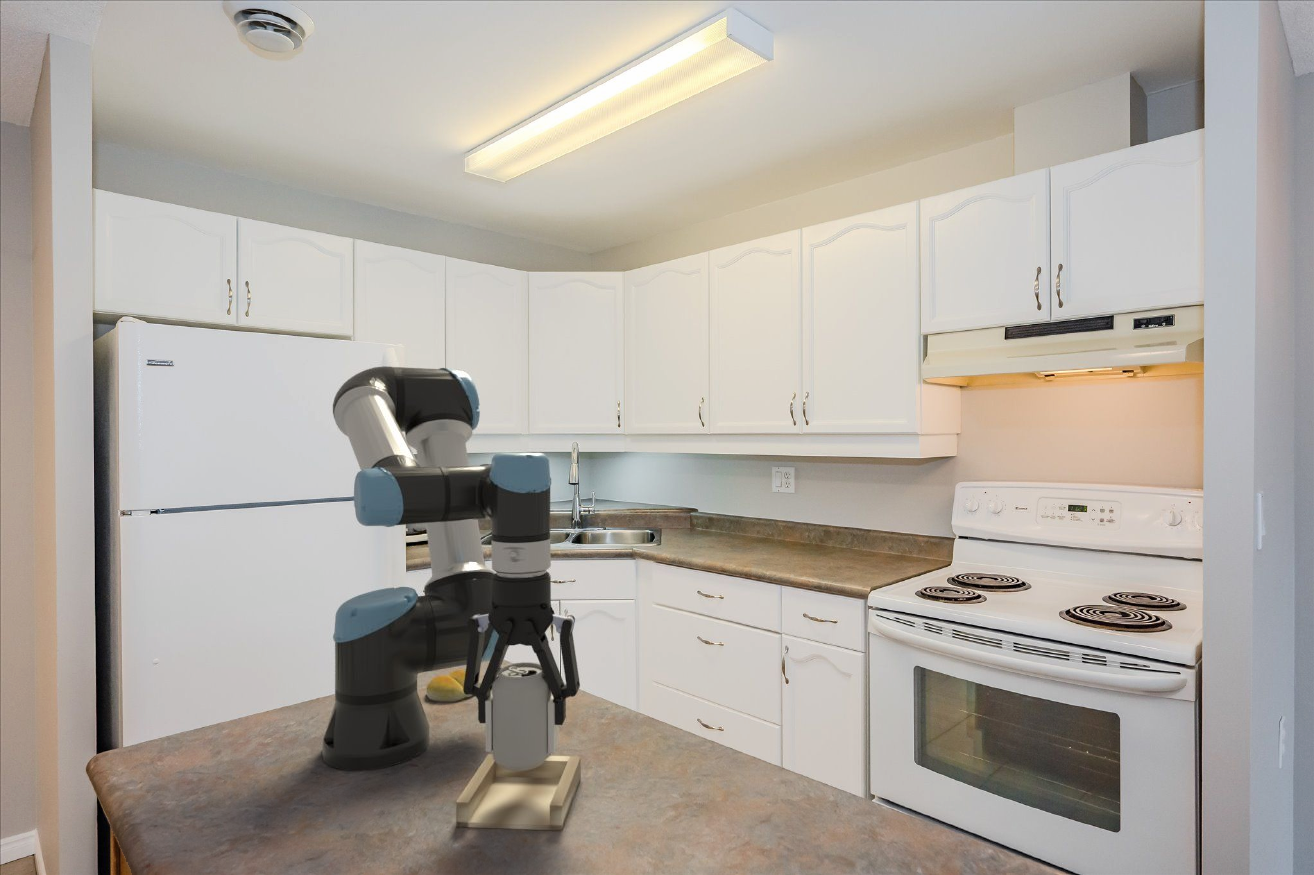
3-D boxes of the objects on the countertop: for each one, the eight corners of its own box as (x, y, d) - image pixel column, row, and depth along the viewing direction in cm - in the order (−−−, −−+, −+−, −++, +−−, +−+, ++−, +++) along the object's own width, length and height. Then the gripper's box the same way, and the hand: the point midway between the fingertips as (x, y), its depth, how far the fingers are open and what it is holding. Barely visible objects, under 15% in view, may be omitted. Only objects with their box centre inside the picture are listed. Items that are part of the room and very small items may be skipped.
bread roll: (419, 695, 131) (419, 673, 131) (464, 683, 137) (463, 662, 137) (440, 708, 125) (439, 685, 125) (485, 695, 131) (485, 673, 131)
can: (539, 776, 88) (538, 679, 88) (482, 771, 90) (482, 675, 90) (559, 750, 96) (558, 660, 96) (506, 745, 97) (506, 657, 97)
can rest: (456, 826, 87) (456, 802, 87) (488, 775, 100) (488, 753, 100) (562, 830, 86) (561, 805, 86) (580, 778, 99) (580, 756, 99)
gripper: (433, 576, 90) (435, 758, 90) (594, 578, 88) (595, 763, 89) (454, 565, 97) (455, 733, 97) (603, 566, 96) (604, 737, 96)
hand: (522, 747), depth 93 cm, fingers closed on can, 7 cm apart
